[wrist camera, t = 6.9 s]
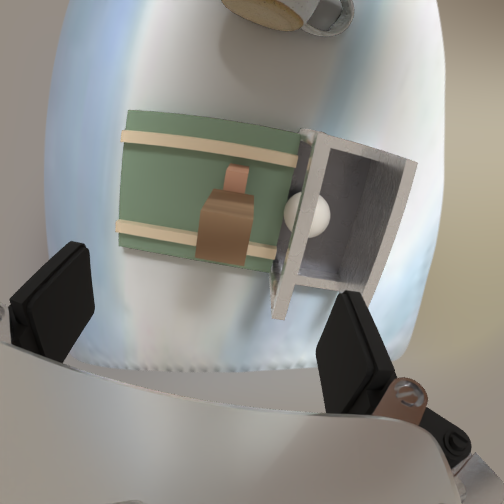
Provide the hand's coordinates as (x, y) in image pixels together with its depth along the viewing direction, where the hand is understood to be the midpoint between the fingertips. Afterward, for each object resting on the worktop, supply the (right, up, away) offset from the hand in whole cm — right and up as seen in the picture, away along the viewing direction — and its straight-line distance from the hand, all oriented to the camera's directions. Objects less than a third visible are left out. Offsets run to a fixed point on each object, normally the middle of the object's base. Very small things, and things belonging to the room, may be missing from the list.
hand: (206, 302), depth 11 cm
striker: (0, +6, +15) cm, 16 cm away
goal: (+8, +6, +17) cm, 20 cm away
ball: (+6, +5, +15) cm, 17 cm away
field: (-3, +8, +17) cm, 19 cm away
